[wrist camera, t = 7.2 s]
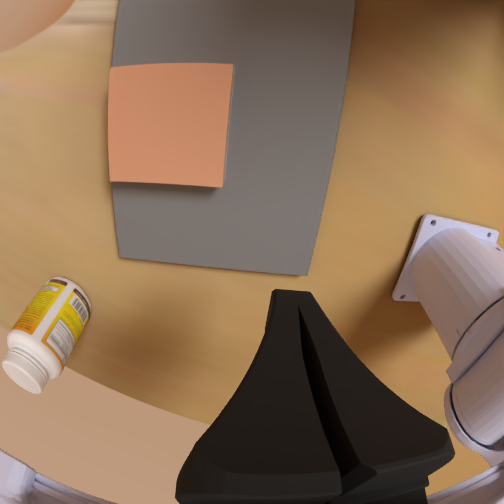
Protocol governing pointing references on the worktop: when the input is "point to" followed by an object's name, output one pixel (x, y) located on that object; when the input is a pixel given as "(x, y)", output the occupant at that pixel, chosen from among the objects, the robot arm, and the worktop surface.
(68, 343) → the supplement bottle
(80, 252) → the worktop surface
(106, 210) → the worktop surface
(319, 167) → the mat
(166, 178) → the tile
